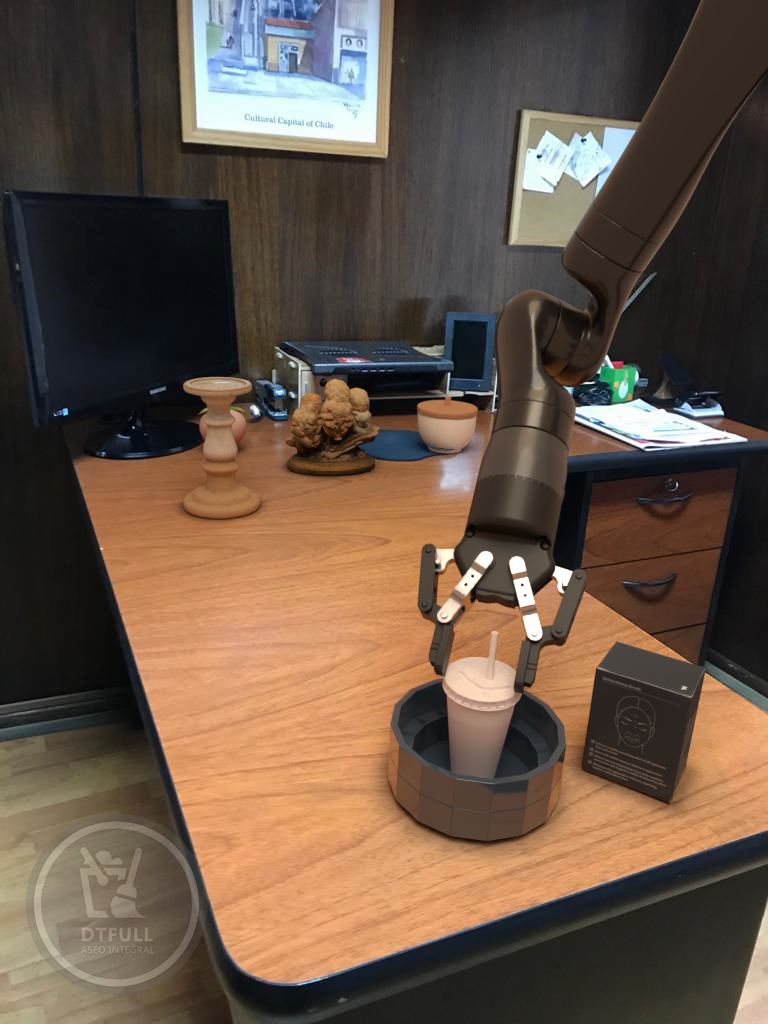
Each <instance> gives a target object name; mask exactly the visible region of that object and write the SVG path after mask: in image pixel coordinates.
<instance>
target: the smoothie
mask: <svg viewBox="0 0 768 1024" xmlns="http://www.w3.org/2000/svg"><path fill="white" fill-rule="evenodd" d="M489 639H490V640H489V649H488V657H485V656H467V657H462V658H460V659H457V660H454V661H452V662H451V663H450V664H448V667H447V671H446V675H445V676H443V678H444V679H443V685H442V686H443V689H444V691H445V693H446V694H447V708H448V727H449V746H450V766H451V772H453V773H455V774H459V775H467V776H474V777H482V778H489V779H494V777H495V773H496V770H497V766H498V762H499V759H500V755H501V752H502V748H503V745H504V741H505V738H506V734H507V731H508V727H509V724H510V720H511V717H512V714H513V710H514V706H515V704H516V703H517V702H518V701H519V700H520V697H521V695H522V693H517V692H514V681H515V675H516V669H514V668H513V667H512V666H511V665H509V664H507V663H506V662H503V661H500V660H499V659H496V658H497V649H498V640H499V631H497V630H492V631H491V633H490V638H489Z"/></svg>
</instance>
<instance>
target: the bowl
mask: <svg viewBox="0 0 768 1024" xmlns="http://www.w3.org/2000/svg"><path fill="white" fill-rule="evenodd" d="M443 679H444V677H443V678H436V679H432V680H430V681H427V682H424V683H422V684H420V685H417V686H414V687H412V688H411V689H409V690H408V691H407V692H406V693H405V694H404V695H403V696H402V697H401V698H400V699H399V700H397V701H396V702H395V704H394V705H393V709H392V715H391V719H390V722H389V723H390V724H389V739H388V740H389V741H388V742H389V743H388V757H387V758H388V760H387V775H386V776H387V780H388V783H389V785H390V788H391V790H392V793H393V796H394V798H395V801H397V803H399V805H401V806H402V808H404V809H405V810H406V811H407V812H408V813H409V815H411V816H412V817H413V818H414V819H415V820H416V821H417V822H419V823H421V824H423V825H426V826H428V827H430V828H432V829H434V830H437V831H439V832H441V833H443V834H445V835H448V836H450V837H454V838H455V837H456V838H462V839H463V838H464V839H470V840H477V841H484V842H487V841H488V842H489V841H495V840H501V839H502V840H503V839H507V838H515V837H521V836H523V835H525V834H527V833H529V832H530V831H532V830H533V829H535V828H537V827H539V826H540V825H542V824H543V823H545V822H547V821H548V819H549V817H550V815H551V813H552V812H553V810H554V808H555V806H556V805H557V803H558V801H559V797H560V790H561V784H562V776H563V771H564V764H565V756H566V751H567V740H566V731H565V725H564V723H563V721H562V720H561V719H560V718H559V716H558V715H557V714H556V712H555V711H554V710H553V709H552V707H551V706H550V705H549V704H548V703H546V702H545V701H544V700H542V699H540V698H539V697H537V696H535V695H534V694H533V693H531V692H529V691H528V690H526V689H524V693H523V694H522V695H521V697H520V700H519V701H518V702H517V703H516V704H515V706H514V710H513V714H512V717H511V720H510V724H509V727H508V731H507V734H506V738H505V741H504V745H503V748H502V752H501V755H500V759H499V762H498V766H497V770H496V773H495V777H494V779H489V778H482V777H474V776H467V775H459V774H455V773H453V772H451V766H450V746H449V727H448V708H447V694H446V693H445V691H444V689H443V686H442V685H443Z"/></svg>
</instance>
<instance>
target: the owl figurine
mask: <svg viewBox="0 0 768 1024" xmlns="http://www.w3.org/2000/svg"><path fill="white" fill-rule="evenodd" d="M324 395H325V401H324V399H323V398H322V397H321V395H319V394H318V393H313V392H312V393H311V392H310V393H309V392H308V393H306V394H304V395H303V396H302V397H301V399H300V402H299V407H297V408H296V409H294V412H293V414H292V420H291V427H290V430H291V433H292V435H290V436H289V437H287V438H286V439H285V444H286V445H287V446H288V447H291V448H295V450H296V453H295V454H293V455H292V456H291V458H289V459H288V460H287V462H286V466H287V469H288V470H290V471H292V472H293V473H295V474H300V475H309V476H329V477H331V476H348V475H357V474H361V473H365V472H368V471H371V470H372V469H373V468H374V467H375V466H376V459H375V458H374V457H373V456H371V454H370V453H368V452H366V449H365V448H361V447H360V446H363V445H366V444H370V443H372V442H375V441H376V438H377V437H378V436H379V433H380V431H381V427H379V426H376V425H375V426H371V425H370V423H371V420H372V419H371V418H372V413H371V412H370V411H369V410H370V400H369V395H368V392H367V391H366V390H365V389H362V388H359V387H354V388H351V389H350V387H349V386H348V385H347V383H346V382H345V381H343V380H341V379H337V378H333V379H331V380H329V381H328V382H326V384H325V386H324Z"/></svg>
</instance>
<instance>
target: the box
mask: <svg viewBox="0 0 768 1024" xmlns="http://www.w3.org/2000/svg"><path fill="white" fill-rule="evenodd" d="M706 671H707V670H706V667H705V666H701V665H699V664H695V663H691V662H688V661H683V660H680V659H677V658H675V657H674V658H673V657H670V656H668V655H663V654H660V653H658V652H654V651H650V650H647V649H643V648H640V647H637V646H634V645H631V644H630V645H629V644H627V643H624V642H620V641H616V642H614V644H612V647H611V648H610V649H609V650H608V652H607V653H606V654H605V656H604V657H603V659H602V660H601V661H600V662H599V664H598V665H597V666H596V668H595V671H594V672H595V673H594V678H593V684H592V686H593V687H592V692H591V700H590V706H589V713H588V718H587V726H586V733H585V740H584V745H583V746H584V747H583V753H582V760H581V769H582V770H583V771H586V772H588V773H592V774H595V775H598V776H599V777H602V778H605V779H607V780H610V781H612V782H615V783H618V784H621V785H623V786H625V787H628V788H631V789H634V790H636V791H638V792H641V793H643V794H646V795H648V796H650V797H654V798H656V799H659V800H661V801H664V802H666V803H671V802H672V800H673V798H674V795H675V793H676V791H677V788H678V786H679V784H680V781H681V779H682V776H683V775H684V773H685V769H686V768H687V762H688V758H689V753H690V749H691V744H692V739H693V733H694V728H695V726H696V725H695V723H696V719H697V715H698V709H699V704H700V699H701V695H702V692H703V691H702V690H703V685H704V680H705V676H706Z"/></svg>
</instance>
